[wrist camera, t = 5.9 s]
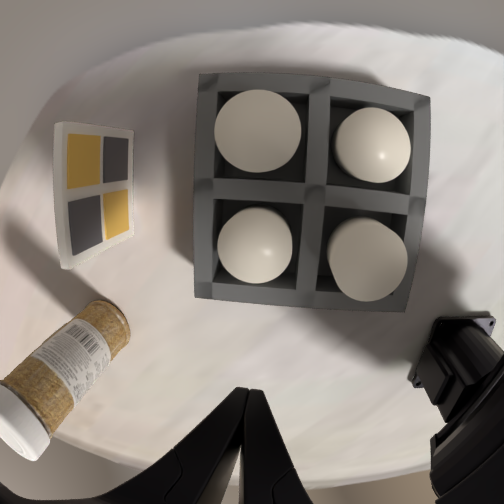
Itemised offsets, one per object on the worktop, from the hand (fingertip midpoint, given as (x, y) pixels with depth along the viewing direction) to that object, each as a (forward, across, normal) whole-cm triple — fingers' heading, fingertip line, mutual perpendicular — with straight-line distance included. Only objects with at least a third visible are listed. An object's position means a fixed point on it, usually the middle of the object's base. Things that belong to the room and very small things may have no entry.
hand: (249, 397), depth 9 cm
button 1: (+8, -5, -3) cm, 10 cm away
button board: (+10, -2, -6) cm, 12 cm away
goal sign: (+10, +10, -5) cm, 15 cm away
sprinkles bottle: (+11, +12, +6) cm, 17 cm away
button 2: (+9, -4, -8) cm, 13 cm away
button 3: (+9, +1, -3) cm, 10 cm away
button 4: (+8, +1, -8) cm, 11 cm away
